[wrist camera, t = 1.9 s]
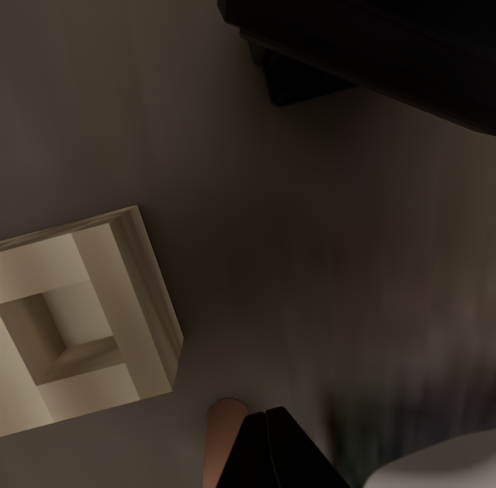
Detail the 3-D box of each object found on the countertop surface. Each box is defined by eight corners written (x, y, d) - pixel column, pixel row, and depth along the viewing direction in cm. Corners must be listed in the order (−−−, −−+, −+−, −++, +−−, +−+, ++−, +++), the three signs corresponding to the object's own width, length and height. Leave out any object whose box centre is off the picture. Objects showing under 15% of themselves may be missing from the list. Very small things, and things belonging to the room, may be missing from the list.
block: (137, 204, 18) (108, 222, 13) (183, 338, 20) (172, 391, 15) (-51, 254, 18) (-141, 289, 13) (16, 382, 20) (-42, 447, 16)
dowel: (243, 394, 21) (253, 535, 13) (253, 427, 22) (269, 579, 14) (202, 404, 21) (189, 551, 13) (213, 437, 22) (208, 595, 14)
